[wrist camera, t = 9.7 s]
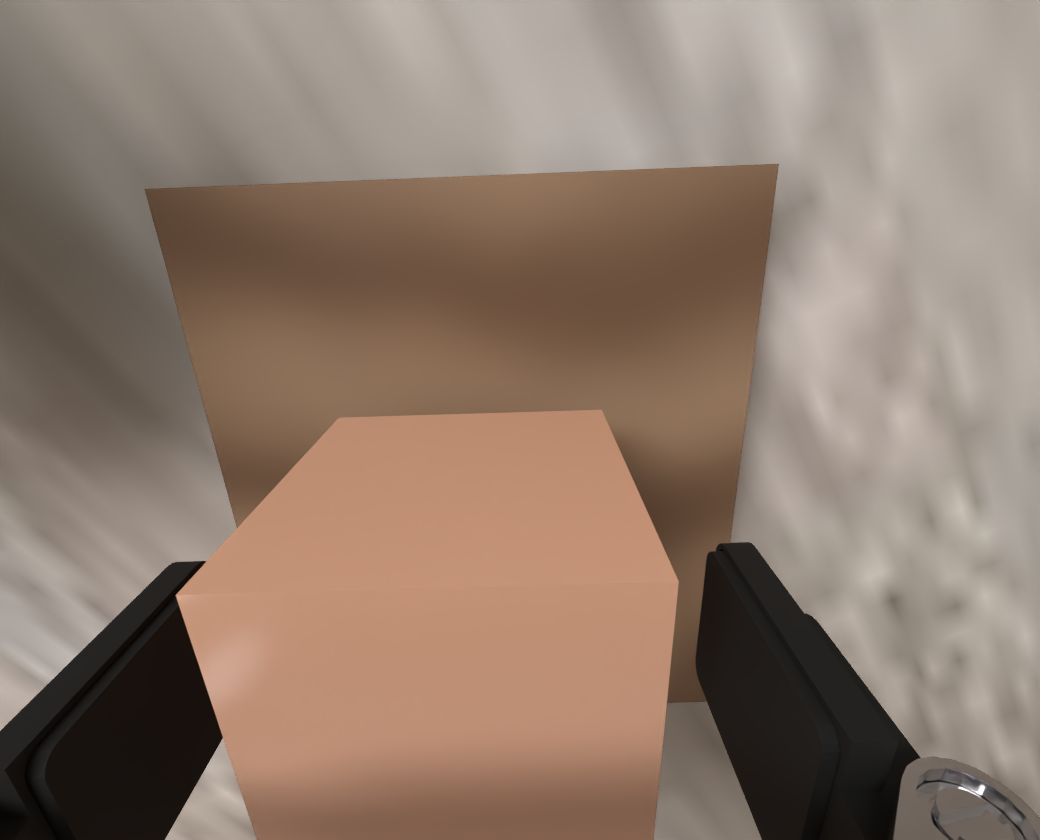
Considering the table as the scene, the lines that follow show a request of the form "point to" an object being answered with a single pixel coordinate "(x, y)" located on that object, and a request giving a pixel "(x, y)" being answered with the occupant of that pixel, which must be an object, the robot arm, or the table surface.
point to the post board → (486, 323)
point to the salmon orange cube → (444, 635)
